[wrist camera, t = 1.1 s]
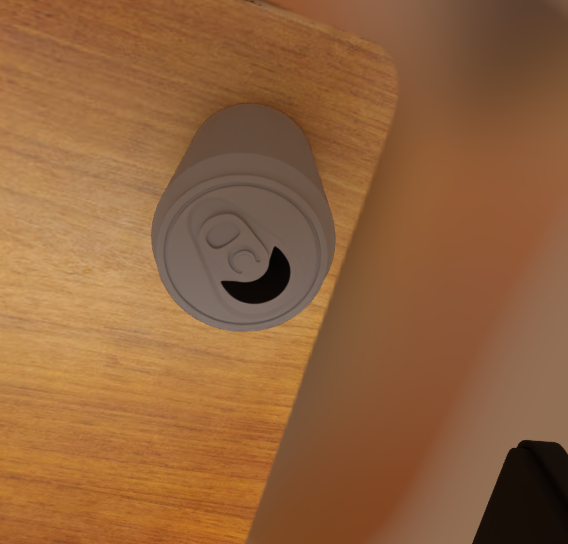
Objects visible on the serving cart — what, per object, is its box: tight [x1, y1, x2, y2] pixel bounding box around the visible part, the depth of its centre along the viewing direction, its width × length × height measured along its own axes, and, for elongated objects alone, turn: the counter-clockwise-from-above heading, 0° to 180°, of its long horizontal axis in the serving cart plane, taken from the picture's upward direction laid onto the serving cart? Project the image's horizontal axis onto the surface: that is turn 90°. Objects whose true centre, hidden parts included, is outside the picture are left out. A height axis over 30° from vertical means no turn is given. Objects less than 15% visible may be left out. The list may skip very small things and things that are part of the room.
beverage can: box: [151, 103, 335, 332], centre depth 23 cm, size 6×6×12 cm
